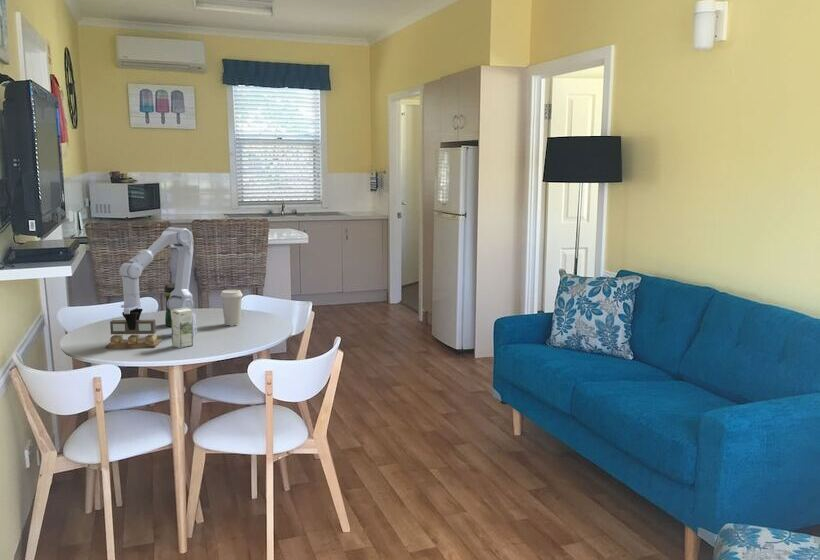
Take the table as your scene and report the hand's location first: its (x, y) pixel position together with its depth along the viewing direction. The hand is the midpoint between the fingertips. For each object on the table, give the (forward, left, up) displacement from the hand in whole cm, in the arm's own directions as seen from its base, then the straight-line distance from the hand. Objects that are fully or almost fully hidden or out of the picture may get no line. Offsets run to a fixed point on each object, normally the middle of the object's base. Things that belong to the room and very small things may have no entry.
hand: (133, 328), depth 265 cm
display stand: (0, 0, -6) cm, 6 cm away
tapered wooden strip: (0, 0, -2) cm, 2 cm away
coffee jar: (-8, -35, -7) cm, 37 cm away
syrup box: (-19, +3, -7) cm, 20 cm away
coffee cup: (-32, -34, -7) cm, 47 cm away
